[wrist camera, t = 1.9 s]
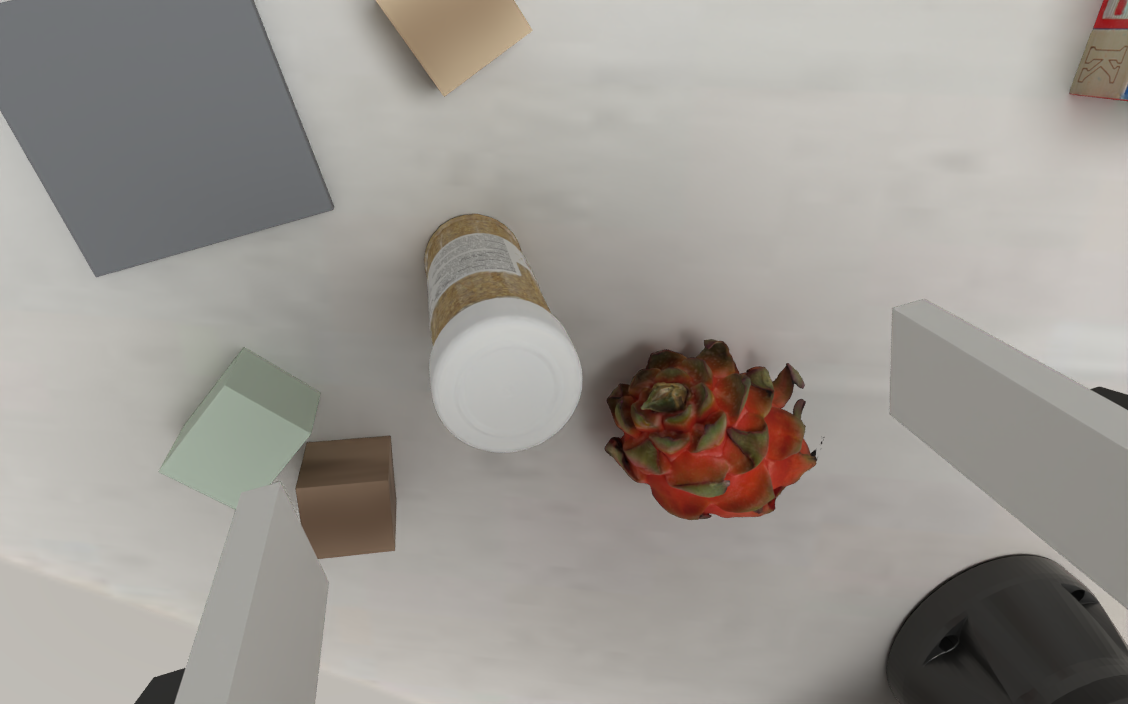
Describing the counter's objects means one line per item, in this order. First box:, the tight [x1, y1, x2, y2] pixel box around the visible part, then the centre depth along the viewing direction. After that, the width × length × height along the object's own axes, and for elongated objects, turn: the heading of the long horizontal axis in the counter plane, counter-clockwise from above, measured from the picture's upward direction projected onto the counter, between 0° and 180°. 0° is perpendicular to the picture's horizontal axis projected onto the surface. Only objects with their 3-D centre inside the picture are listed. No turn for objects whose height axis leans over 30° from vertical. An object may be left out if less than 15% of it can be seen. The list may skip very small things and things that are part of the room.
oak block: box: [376, 0, 533, 97], centre depth 27 cm, size 4×4×4 cm
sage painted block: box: [158, 347, 321, 510], centre depth 32 cm, size 4×5×4 cm
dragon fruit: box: [605, 339, 824, 520], centre depth 35 cm, size 8×8×12 cm
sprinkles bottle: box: [424, 214, 582, 453], centre depth 27 cm, size 5×4×13 cm
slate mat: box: [0, 0, 334, 277], centre depth 28 cm, size 10×10×1 cm
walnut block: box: [296, 436, 396, 559], centre depth 34 cm, size 4×4×4 cm
